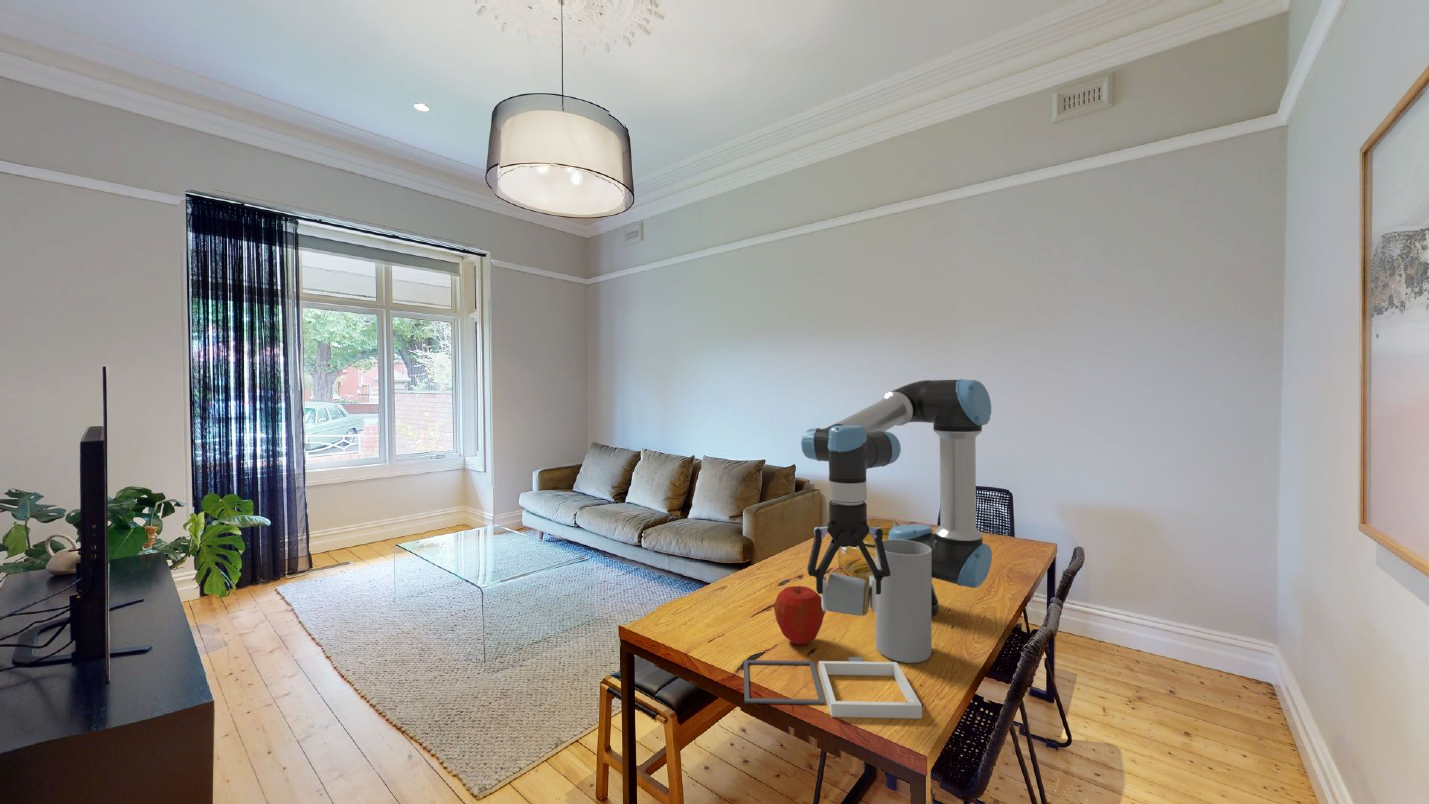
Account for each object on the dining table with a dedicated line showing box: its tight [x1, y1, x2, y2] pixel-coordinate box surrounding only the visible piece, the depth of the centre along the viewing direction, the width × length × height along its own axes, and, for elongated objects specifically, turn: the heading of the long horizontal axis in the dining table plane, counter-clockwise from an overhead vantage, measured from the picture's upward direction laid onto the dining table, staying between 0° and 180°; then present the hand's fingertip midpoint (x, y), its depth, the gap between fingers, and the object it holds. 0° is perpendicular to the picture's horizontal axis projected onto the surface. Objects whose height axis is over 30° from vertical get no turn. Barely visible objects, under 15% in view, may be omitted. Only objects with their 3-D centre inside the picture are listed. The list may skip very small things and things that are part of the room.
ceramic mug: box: [826, 572, 870, 617], centre depth 110 cm, size 11×8×8 cm
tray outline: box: [743, 659, 826, 705], centre depth 113 cm, size 16×16×1 cm
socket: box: [818, 656, 923, 720], centre depth 109 cm, size 17×18×2 cm
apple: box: [773, 585, 826, 646], centre depth 131 cm, size 12×12×14 cm
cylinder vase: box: [875, 539, 932, 664], centre depth 126 cm, size 12×12×25 cm
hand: (848, 608), depth 109 cm, fingers closed on ceramic mug, 9 cm apart
